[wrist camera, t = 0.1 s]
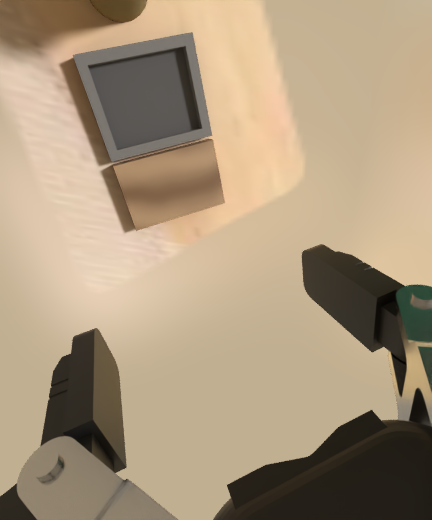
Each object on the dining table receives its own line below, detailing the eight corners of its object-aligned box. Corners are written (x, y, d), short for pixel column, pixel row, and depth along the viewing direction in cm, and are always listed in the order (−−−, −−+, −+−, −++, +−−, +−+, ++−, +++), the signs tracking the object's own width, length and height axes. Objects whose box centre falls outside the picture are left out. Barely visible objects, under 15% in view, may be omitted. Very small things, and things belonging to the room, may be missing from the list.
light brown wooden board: (112, 164, 35) (113, 166, 34) (209, 138, 37) (212, 139, 36) (135, 226, 39) (136, 230, 38) (221, 200, 41) (224, 202, 40)
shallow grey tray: (73, 57, 30) (72, 54, 28) (188, 35, 32) (192, 32, 31) (111, 160, 35) (111, 161, 33) (208, 134, 37) (212, 135, 36)
